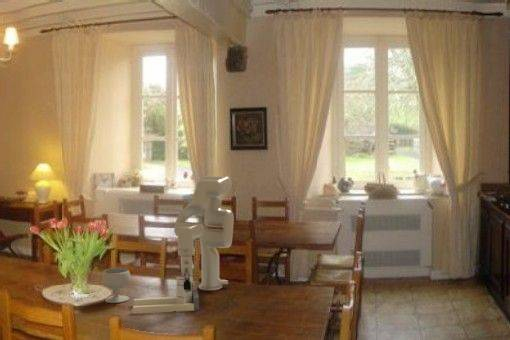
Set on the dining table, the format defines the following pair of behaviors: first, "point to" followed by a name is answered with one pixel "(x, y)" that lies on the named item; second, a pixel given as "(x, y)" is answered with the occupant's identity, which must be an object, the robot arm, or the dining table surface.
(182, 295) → the syrup box
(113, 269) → the chalice
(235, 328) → the dining table surface
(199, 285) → the robot arm
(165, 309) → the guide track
